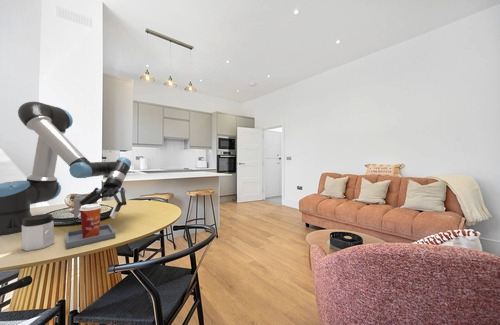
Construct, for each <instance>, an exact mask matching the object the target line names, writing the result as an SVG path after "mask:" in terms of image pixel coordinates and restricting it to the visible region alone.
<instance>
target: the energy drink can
mask: <svg viewBox="0 0 500 325" xmlns="http://www.w3.org/2000/svg"><path fill="white" fill-rule="evenodd" d="M87 196H88V195H87V193H80V194H75V196H74V198H73V218H74V217H78V215H79V214H80V210H79V209H80V208H81V206H82V205H81V204H80V201H82V200H83V199H84V198H85V197H87ZM87 204H88V203H87Z"/></svg>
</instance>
